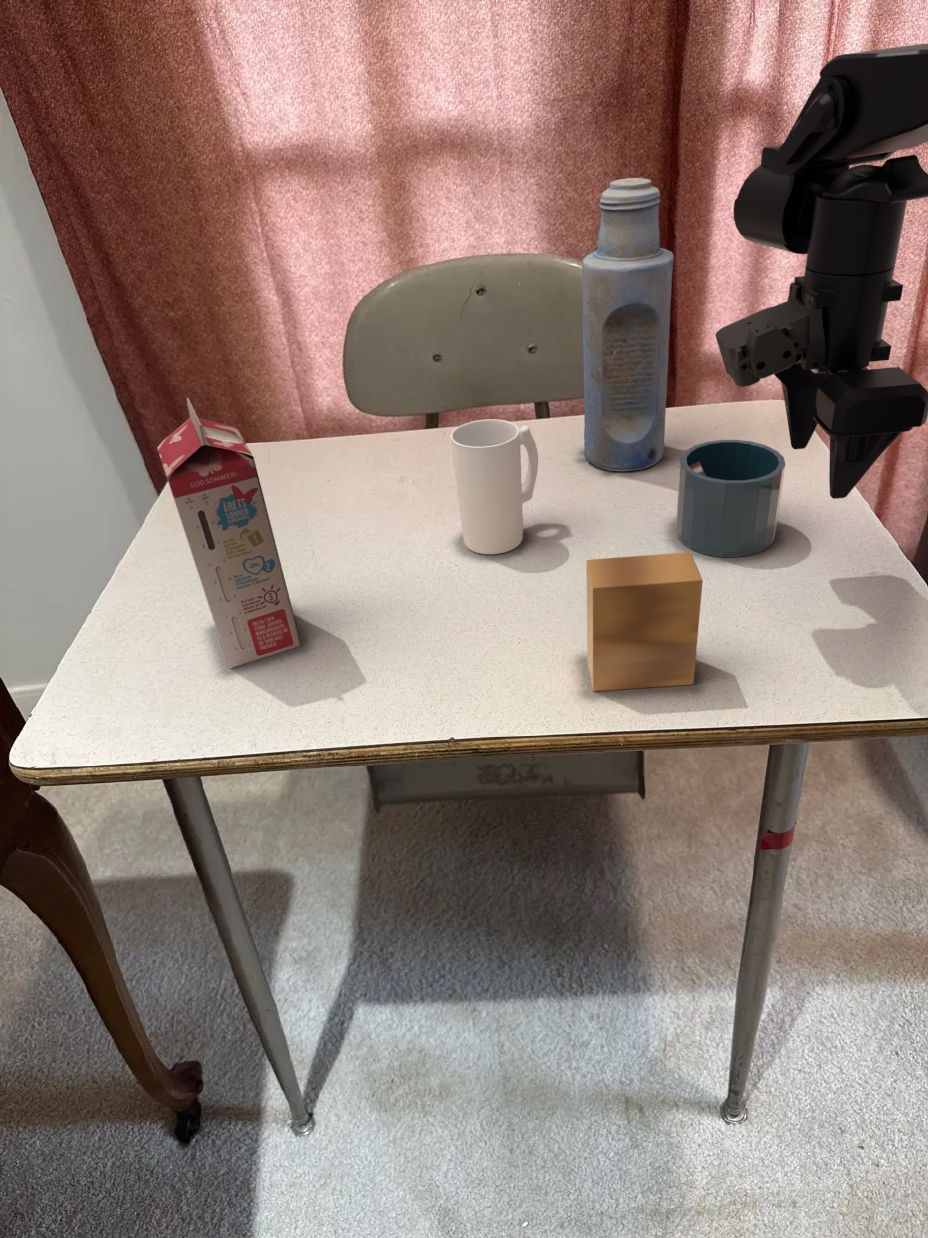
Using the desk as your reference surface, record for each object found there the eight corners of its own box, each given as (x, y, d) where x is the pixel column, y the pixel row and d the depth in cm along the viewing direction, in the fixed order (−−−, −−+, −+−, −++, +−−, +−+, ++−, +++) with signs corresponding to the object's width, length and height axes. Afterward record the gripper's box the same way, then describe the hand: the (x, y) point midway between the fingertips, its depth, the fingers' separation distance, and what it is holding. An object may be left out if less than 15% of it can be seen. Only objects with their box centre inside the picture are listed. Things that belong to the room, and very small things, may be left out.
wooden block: (683, 654, 70) (691, 551, 64) (693, 684, 67) (703, 579, 61) (587, 660, 70) (586, 559, 65) (592, 691, 67) (592, 588, 61)
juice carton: (284, 609, 81) (226, 388, 68) (301, 645, 76) (242, 414, 63) (216, 630, 79) (144, 407, 66) (229, 668, 74) (153, 435, 61)
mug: (489, 564, 84) (480, 453, 77) (448, 541, 89) (436, 434, 82) (561, 526, 89) (558, 420, 82) (519, 506, 93) (513, 403, 87)
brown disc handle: (715, 521, 86) (726, 515, 86) (721, 533, 83) (732, 527, 83) (685, 462, 84) (697, 456, 83) (690, 472, 81) (702, 466, 80)
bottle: (586, 475, 98) (584, 193, 81) (581, 440, 106) (579, 177, 89) (668, 471, 97) (685, 184, 80) (658, 436, 105) (671, 168, 88)
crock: (784, 518, 86) (794, 446, 82) (761, 565, 80) (771, 489, 75) (691, 503, 90) (697, 434, 86) (663, 547, 84) (667, 474, 79)
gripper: (701, 249, 66) (690, 434, 75) (771, 313, 51) (746, 536, 60) (845, 234, 66) (816, 423, 75) (959, 295, 50) (906, 524, 59)
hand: (816, 471), depth 67 cm, fingers open, 9 cm apart
